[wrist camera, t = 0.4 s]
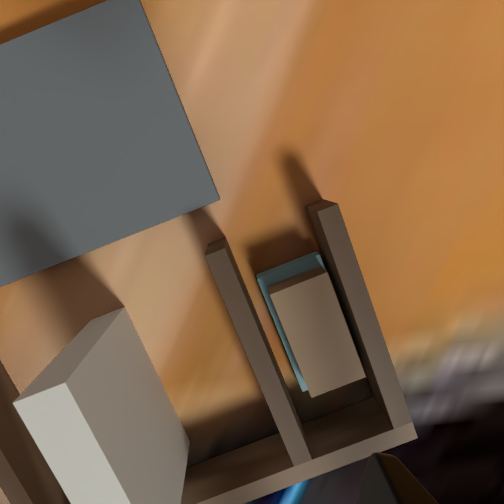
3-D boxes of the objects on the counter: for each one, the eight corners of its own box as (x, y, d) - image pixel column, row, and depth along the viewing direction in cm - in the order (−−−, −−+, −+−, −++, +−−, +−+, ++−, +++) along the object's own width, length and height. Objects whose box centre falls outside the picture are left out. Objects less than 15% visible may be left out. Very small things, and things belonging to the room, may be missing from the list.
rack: (75, 525, 24) (54, 574, 21) (-33, 339, 22) (-75, 365, 19) (394, 404, 24) (417, 437, 21) (322, 199, 21) (337, 203, 18)
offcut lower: (298, 378, 24) (302, 392, 22) (255, 271, 22) (257, 279, 21) (353, 356, 24) (361, 369, 22) (314, 248, 22) (319, 254, 21)
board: (158, 453, 24) (122, 593, 16) (91, 319, 22) (12, 403, 14) (190, 441, 24) (169, 575, 16) (124, 306, 22) (65, 382, 14)
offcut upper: (306, 383, 22) (311, 398, 21) (267, 286, 21) (269, 294, 19) (357, 363, 22) (365, 376, 21) (320, 264, 21) (327, 272, 19)
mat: (8, 282, 21) (-3, 288, 20) (-94, 94, 19) (-111, 90, 18) (220, 198, 21) (219, 199, 20) (139, -2, 19) (134, -11, 18)
